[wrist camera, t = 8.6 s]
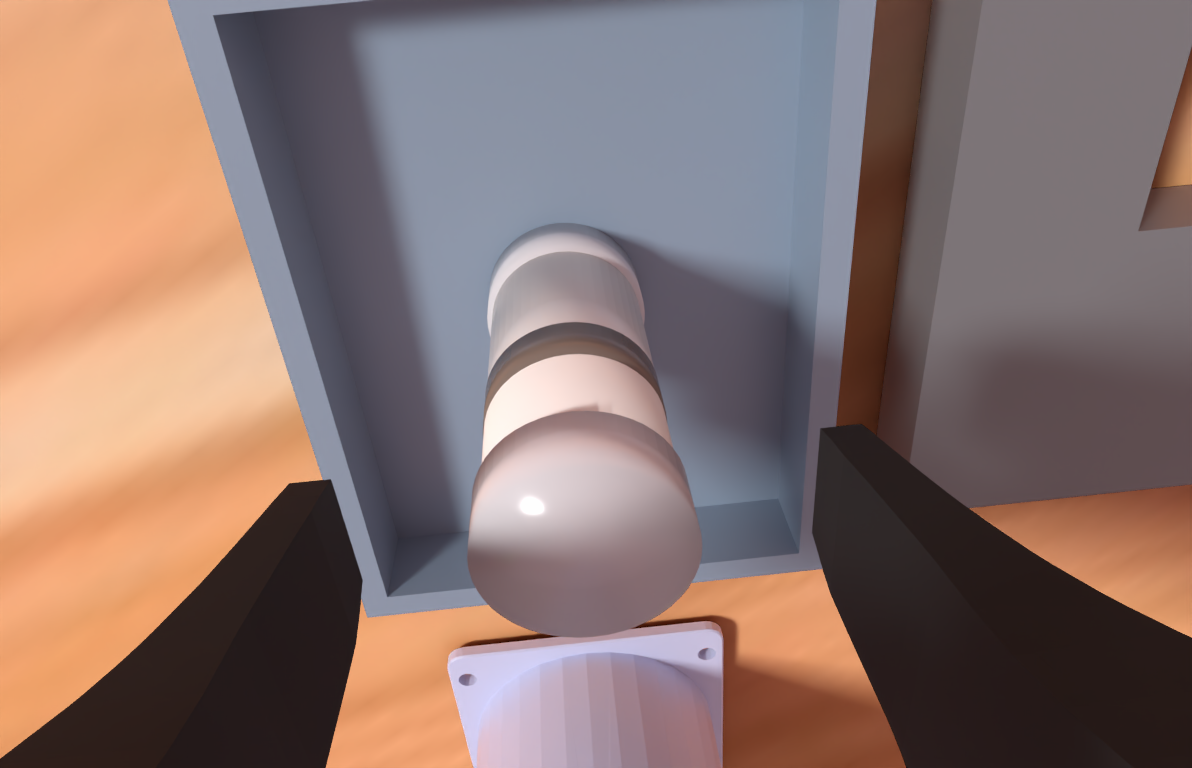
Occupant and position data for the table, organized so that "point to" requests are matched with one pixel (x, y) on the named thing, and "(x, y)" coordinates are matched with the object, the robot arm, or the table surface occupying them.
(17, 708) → the table surface
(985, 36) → the light bulb socket board
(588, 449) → the white light bulb
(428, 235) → the tray
